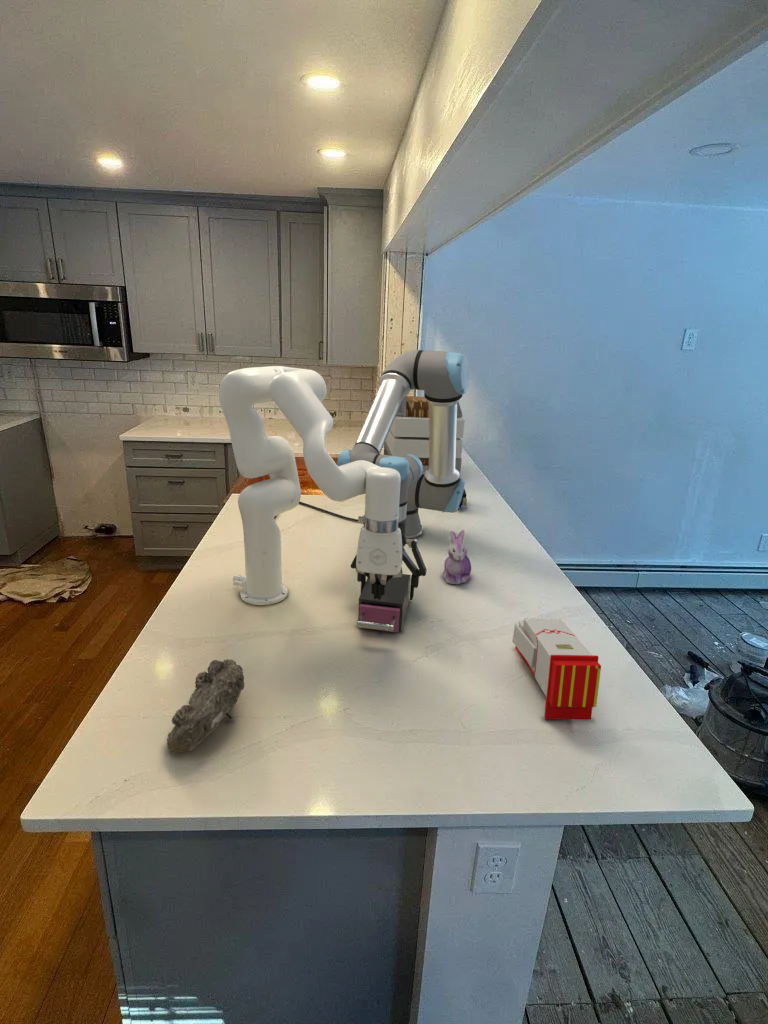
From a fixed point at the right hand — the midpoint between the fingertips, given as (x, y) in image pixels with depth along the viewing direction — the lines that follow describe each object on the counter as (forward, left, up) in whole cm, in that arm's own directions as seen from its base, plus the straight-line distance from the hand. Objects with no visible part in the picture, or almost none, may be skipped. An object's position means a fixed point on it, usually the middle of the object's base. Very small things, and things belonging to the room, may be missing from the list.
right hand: (387, 595), depth 150 cm
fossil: (+12, -55, -4) cm, 56 cm away
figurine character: (-45, +77, -4) cm, 89 cm away
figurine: (0, +28, -4) cm, 28 cm away
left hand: (+10, -12, +8) cm, 18 cm away
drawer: (+5, -6, -3) cm, 9 cm away
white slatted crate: (-89, +98, -4) cm, 133 cm away
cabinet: (+2, -2, -4) cm, 5 cm away
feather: (-76, +12, -4) cm, 77 cm away
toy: (+45, +8, -4) cm, 45 cm away
